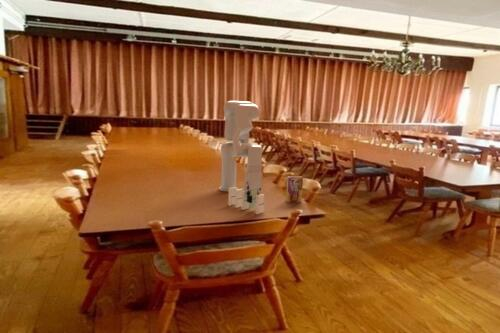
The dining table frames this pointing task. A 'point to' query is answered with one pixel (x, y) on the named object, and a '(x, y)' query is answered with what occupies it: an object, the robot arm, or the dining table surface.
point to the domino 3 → (244, 201)
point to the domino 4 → (260, 203)
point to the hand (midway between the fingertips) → (252, 201)
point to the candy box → (294, 189)
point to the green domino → (253, 199)
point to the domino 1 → (231, 196)
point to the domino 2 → (238, 197)
